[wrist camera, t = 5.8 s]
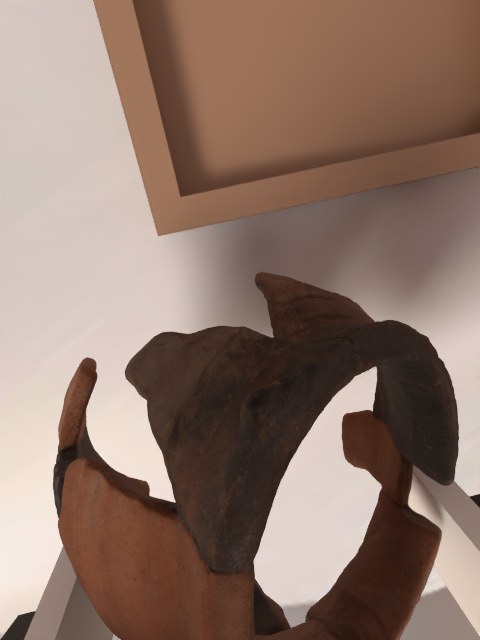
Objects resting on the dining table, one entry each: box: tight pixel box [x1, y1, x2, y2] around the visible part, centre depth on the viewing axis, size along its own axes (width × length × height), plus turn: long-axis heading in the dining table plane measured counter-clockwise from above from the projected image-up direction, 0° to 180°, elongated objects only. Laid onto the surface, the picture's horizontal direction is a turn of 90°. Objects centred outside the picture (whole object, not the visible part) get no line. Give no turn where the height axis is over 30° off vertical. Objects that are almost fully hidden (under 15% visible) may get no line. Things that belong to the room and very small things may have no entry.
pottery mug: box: [53, 272, 459, 640], centre depth 9 cm, size 12×10×8 cm
